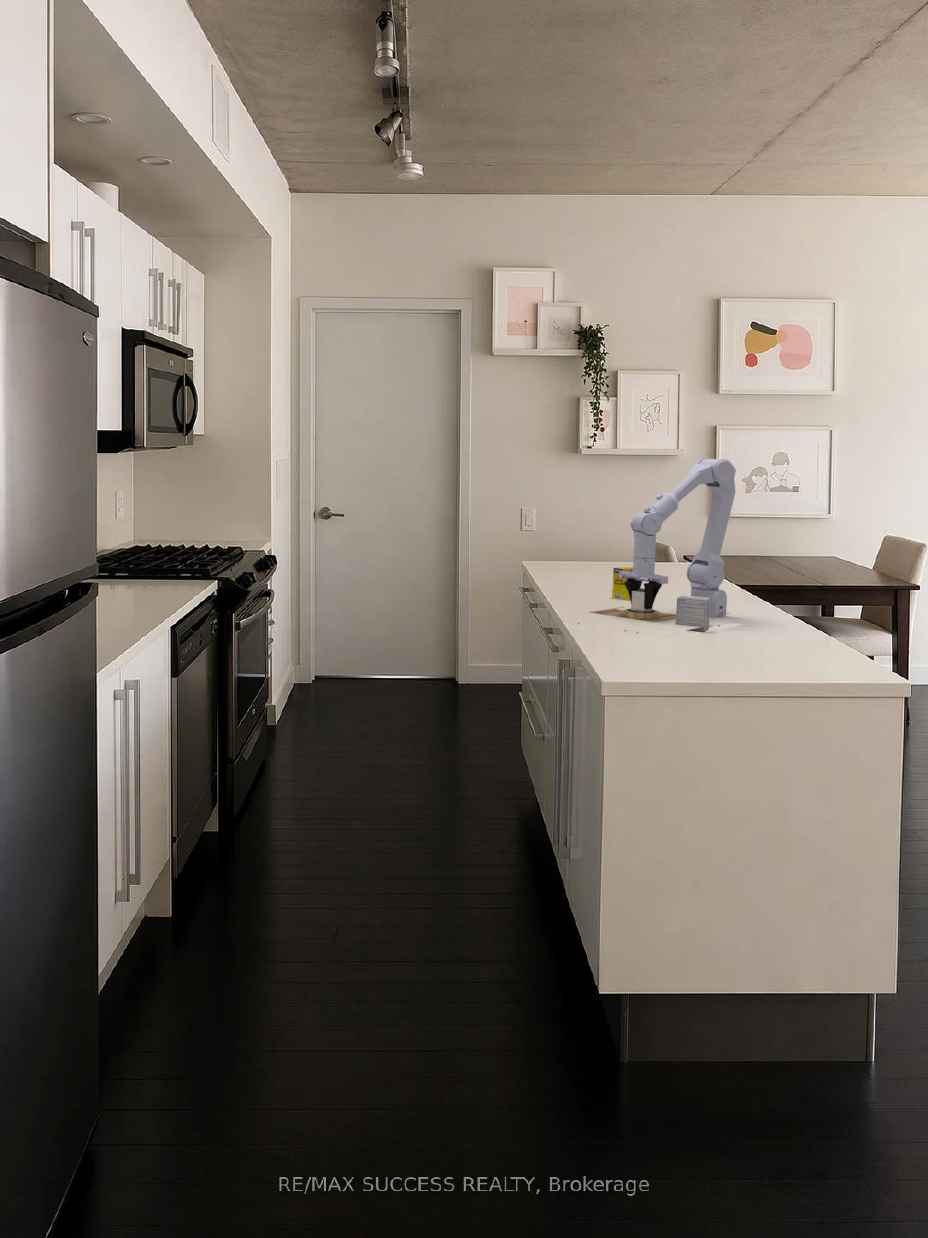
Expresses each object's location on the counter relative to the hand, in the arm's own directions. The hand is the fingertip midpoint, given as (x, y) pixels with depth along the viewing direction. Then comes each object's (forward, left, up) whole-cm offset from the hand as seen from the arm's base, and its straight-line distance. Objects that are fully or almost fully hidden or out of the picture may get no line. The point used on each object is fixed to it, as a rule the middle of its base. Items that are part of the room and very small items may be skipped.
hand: (641, 607), depth 306 cm
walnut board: (+3, -3, -4) cm, 6 cm away
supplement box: (+24, -26, -4) cm, 36 cm away
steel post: (0, 0, -2) cm, 2 cm away
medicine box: (-16, 0, -4) cm, 17 cm away
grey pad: (+8, -7, -2) cm, 11 cm away
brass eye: (0, 0, -2) cm, 2 cm away
